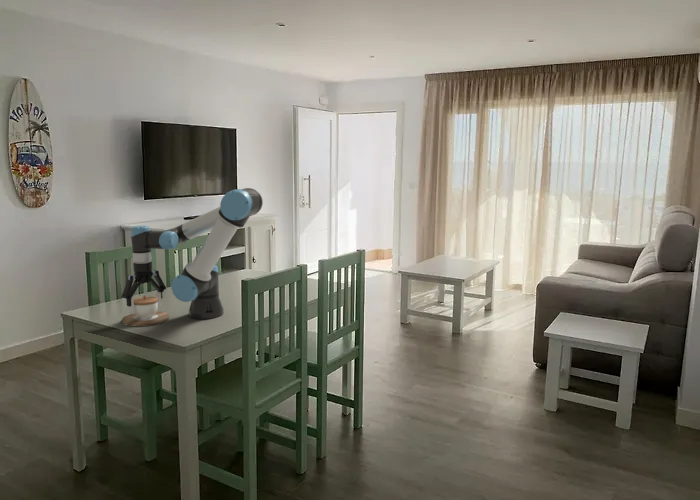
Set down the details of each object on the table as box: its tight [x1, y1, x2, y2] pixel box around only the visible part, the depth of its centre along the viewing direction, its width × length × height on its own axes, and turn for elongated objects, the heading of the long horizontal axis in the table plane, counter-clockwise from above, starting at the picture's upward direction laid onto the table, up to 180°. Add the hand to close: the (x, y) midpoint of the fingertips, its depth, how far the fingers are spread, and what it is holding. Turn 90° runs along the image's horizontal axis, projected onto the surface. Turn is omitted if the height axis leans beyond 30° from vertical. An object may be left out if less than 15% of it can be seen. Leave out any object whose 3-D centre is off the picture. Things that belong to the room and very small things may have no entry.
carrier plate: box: [121, 310, 170, 327], centre depth 236 cm, size 19×19×1 cm
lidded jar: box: [132, 295, 159, 319], centre depth 235 cm, size 11×11×9 cm
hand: (145, 309), depth 235 cm, fingers open, 13 cm apart
